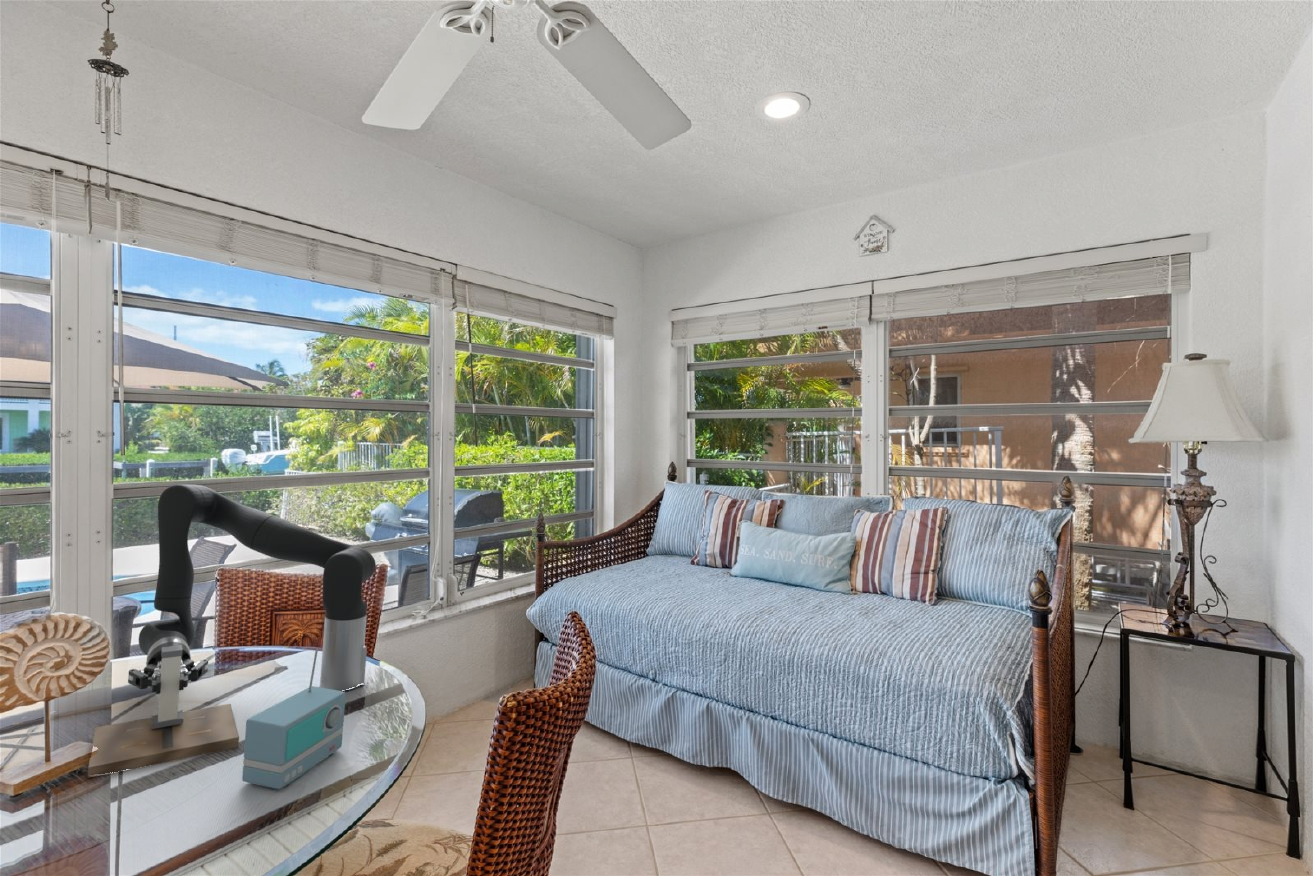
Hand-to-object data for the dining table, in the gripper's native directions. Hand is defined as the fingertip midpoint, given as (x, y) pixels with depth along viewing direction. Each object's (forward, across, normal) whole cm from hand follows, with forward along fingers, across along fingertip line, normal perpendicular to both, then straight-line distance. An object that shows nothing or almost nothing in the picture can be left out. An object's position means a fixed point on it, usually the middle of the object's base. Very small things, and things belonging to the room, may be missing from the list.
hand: (170, 687), depth 124 cm
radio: (+23, +19, +11) cm, 32 cm away
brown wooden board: (+1, 0, +10) cm, 11 cm away
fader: (-3, 0, +8) cm, 9 cm away
